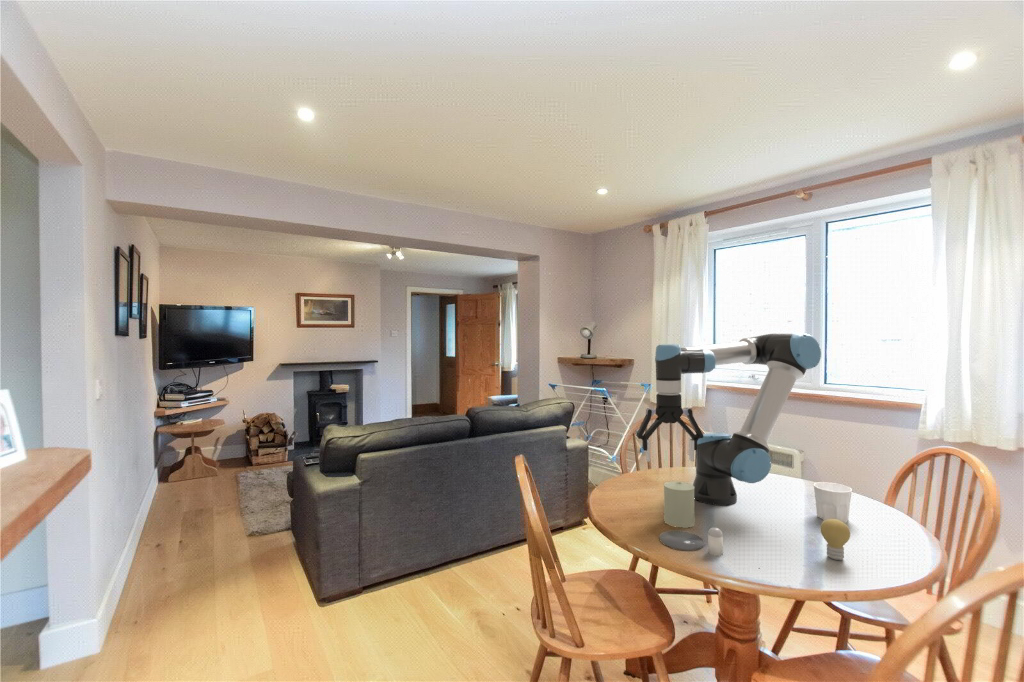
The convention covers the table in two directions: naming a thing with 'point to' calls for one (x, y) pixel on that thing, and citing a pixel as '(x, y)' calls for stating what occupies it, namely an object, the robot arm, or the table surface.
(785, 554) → the table surface
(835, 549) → the light bulb
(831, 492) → the cup
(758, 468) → the robot arm
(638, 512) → the table surface
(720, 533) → the salt shaker
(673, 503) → the can
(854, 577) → the table surface
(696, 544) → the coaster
